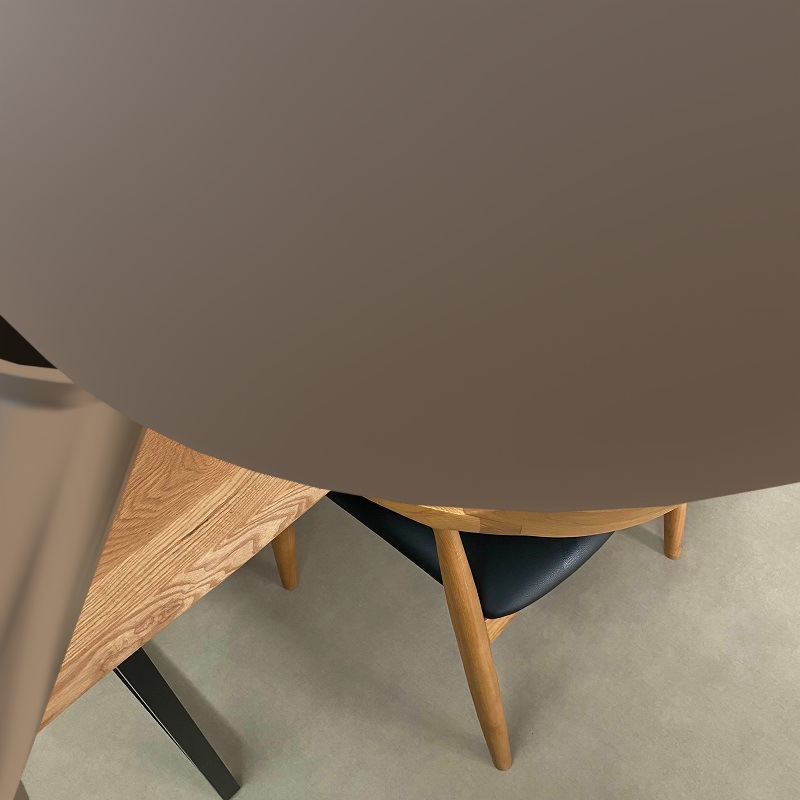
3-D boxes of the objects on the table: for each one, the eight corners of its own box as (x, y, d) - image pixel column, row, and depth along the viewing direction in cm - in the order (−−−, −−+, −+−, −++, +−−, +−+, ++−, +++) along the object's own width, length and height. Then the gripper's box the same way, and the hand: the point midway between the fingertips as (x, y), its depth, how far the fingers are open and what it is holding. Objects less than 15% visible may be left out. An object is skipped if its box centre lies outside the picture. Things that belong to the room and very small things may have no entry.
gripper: (596, 328, 46) (279, 249, 53) (681, 107, 60) (423, 66, 67) (615, 224, 40) (256, 150, 47) (704, 6, 54) (419, -28, 61)
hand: (353, 100), depth 57 cm, fingers open, 13 cm apart
